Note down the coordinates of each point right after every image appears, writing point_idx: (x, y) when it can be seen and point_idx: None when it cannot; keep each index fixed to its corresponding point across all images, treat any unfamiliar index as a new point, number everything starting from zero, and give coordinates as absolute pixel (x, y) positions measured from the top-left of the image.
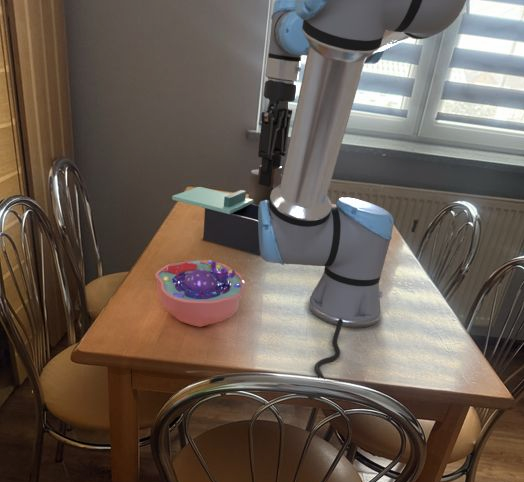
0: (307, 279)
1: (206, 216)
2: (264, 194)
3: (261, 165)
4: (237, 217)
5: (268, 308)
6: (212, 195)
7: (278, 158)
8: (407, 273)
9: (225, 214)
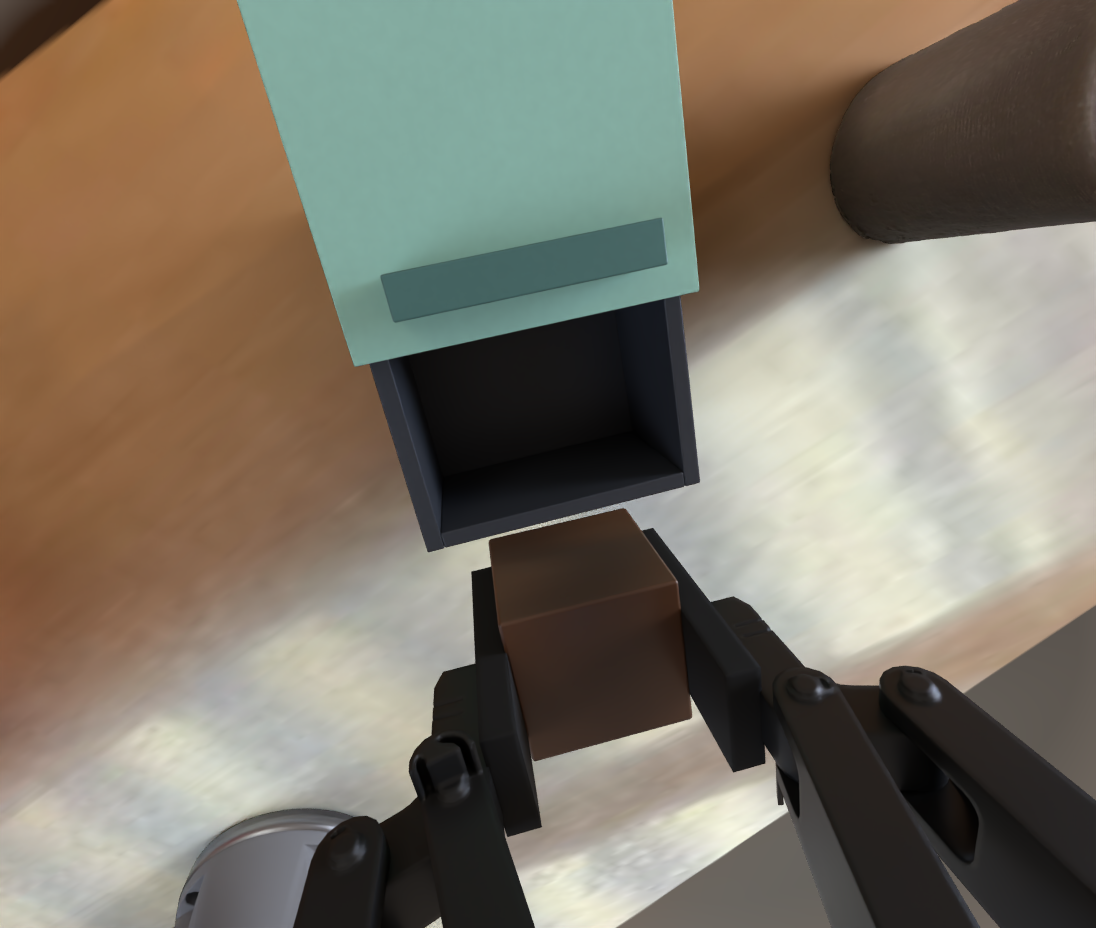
0: (403, 714)
1: None
2: (957, 178)
3: (477, 677)
4: (383, 409)
5: (93, 782)
6: (524, 21)
7: (721, 740)
8: (715, 823)
9: None
